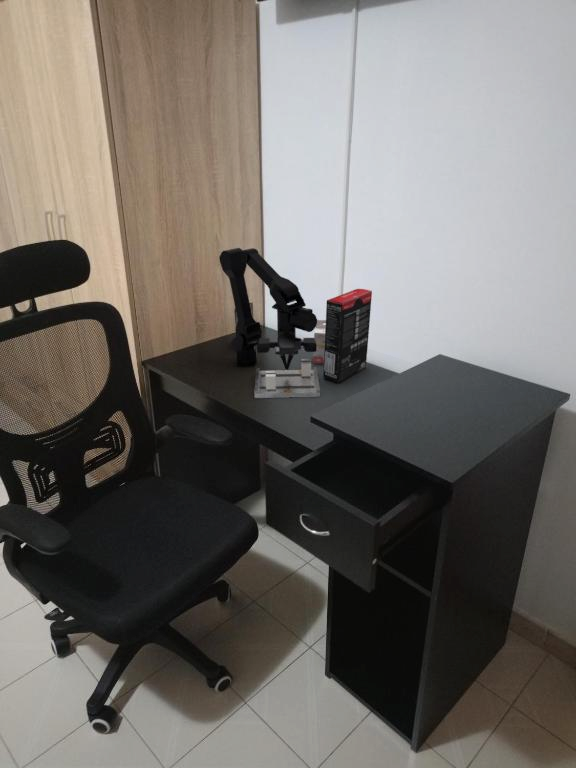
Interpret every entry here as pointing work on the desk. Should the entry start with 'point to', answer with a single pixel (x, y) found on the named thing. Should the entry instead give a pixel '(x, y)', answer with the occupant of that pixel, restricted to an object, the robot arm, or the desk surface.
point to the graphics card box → (346, 334)
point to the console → (288, 384)
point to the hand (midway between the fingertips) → (286, 369)
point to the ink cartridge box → (319, 342)
